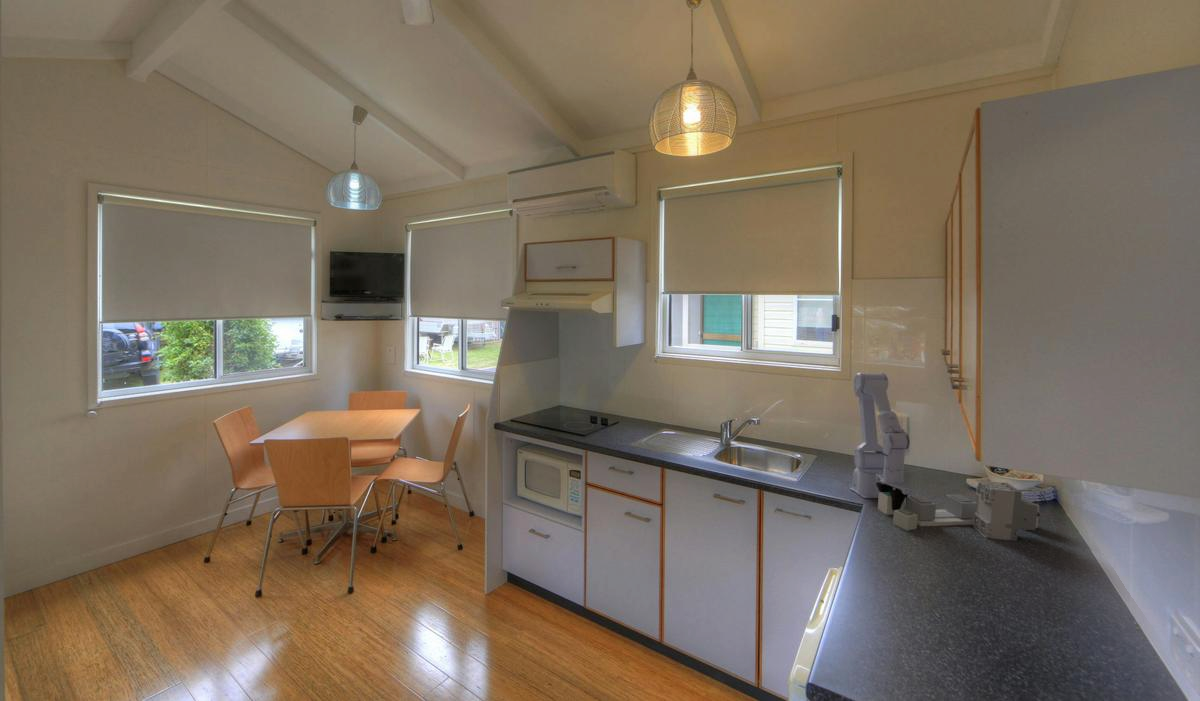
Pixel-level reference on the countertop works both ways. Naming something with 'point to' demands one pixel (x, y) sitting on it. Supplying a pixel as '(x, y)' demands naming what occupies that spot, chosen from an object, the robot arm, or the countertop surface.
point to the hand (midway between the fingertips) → (890, 507)
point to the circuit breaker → (1003, 511)
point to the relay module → (886, 503)
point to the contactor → (905, 519)
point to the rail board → (942, 511)
